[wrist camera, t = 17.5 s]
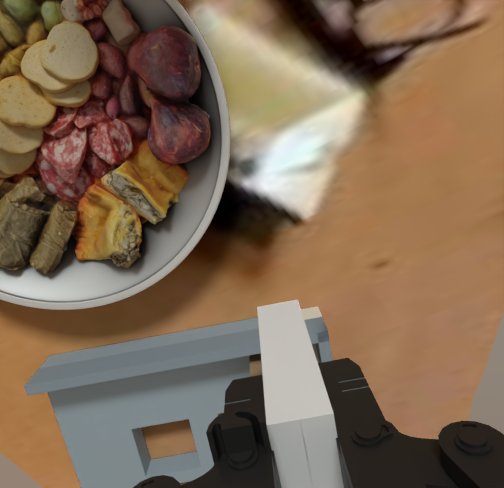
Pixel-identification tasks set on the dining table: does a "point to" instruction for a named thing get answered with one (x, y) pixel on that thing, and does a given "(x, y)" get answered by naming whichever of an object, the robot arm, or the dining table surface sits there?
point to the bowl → (104, 147)
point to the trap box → (151, 396)
